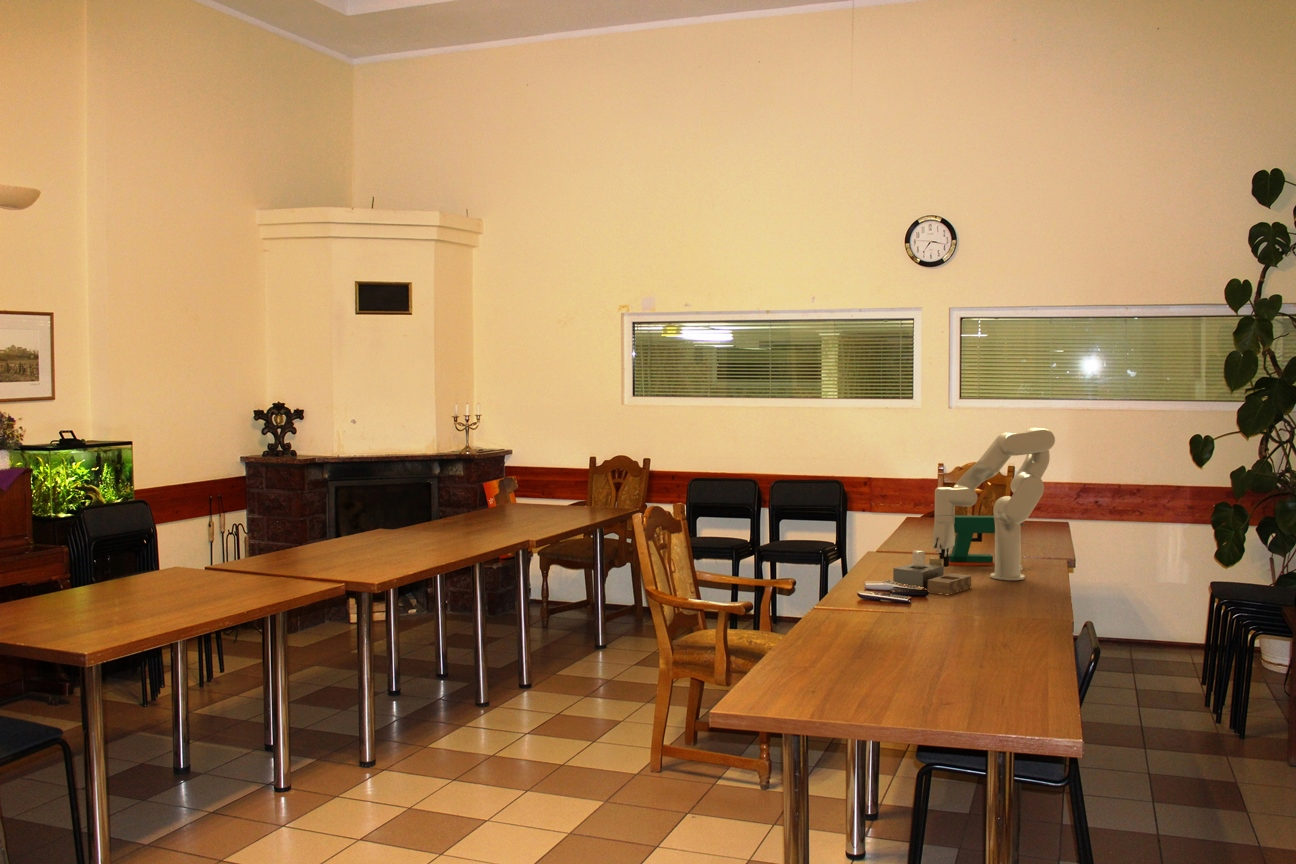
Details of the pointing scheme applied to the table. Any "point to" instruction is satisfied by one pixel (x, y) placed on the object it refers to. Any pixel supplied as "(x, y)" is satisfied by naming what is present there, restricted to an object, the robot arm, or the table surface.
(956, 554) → the power tool
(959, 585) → the block
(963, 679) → the table surface
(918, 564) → the cream post
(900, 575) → the socket block
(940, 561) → the drift key
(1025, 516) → the robot arm
